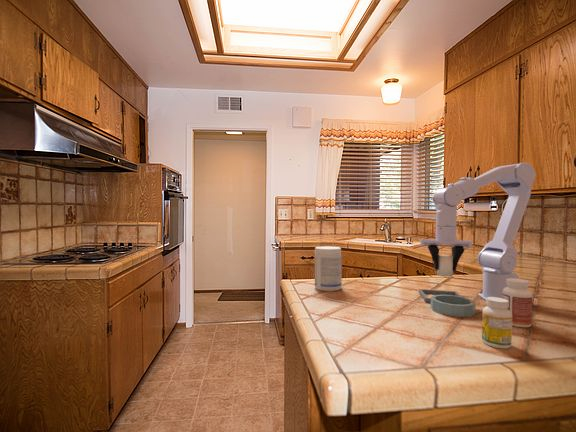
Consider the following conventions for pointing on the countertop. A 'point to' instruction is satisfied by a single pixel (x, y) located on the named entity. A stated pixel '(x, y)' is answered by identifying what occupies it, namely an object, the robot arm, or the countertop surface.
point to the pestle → (445, 265)
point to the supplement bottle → (497, 323)
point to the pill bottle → (519, 301)
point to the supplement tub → (328, 268)
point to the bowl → (453, 305)
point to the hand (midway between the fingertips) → (444, 269)
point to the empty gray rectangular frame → (436, 293)
